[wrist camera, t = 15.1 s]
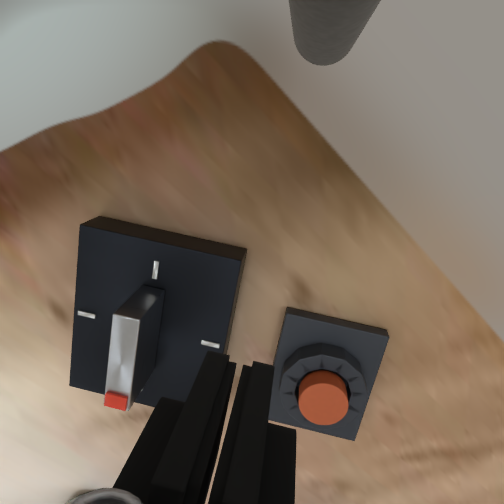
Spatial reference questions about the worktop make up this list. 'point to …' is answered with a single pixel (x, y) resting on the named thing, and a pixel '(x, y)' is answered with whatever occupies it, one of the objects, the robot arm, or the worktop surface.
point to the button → (323, 397)
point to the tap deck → (174, 306)
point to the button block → (325, 366)
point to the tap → (133, 346)
